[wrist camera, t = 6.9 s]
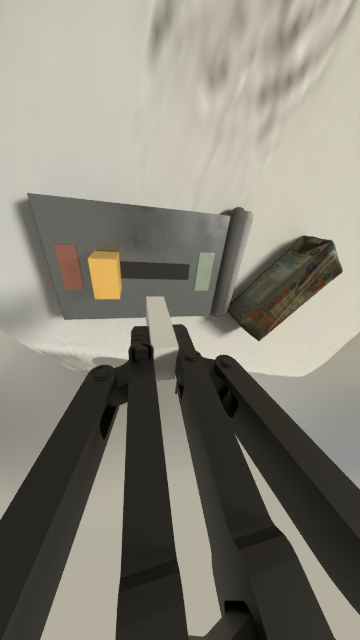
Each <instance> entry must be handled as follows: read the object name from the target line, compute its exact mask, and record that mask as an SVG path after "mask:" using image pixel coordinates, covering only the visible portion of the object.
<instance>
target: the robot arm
mask: <svg viewBox="0 0 360 640" xmlns="http://www.w3.org/2000/svg"><path fill="white" fill-rule="evenodd" d="M146 324H147V326H134V328H133V329H132V331H131V346H130V347H129V350H128V352H129V360H128V361H127V362H126V363H125V364H124V365H122V366H119V367H116V368H113V367H112V366H109V365H100V366H97V367H95V368H93V369H92V370H91V371H90V372H89V373H88V375H87V376H86V378H85V380H84V382H83V383H82V385H81V386H80V388H79V390H78V391H77V393H76V395H75V396H74V398H73V400H72V401H71V403H70V405H69V407H68V408H67V410H66V411H65V413H64V415H63V417H62V418H61V420H60V422H59V423H58V425H57V427H56V428H55V430H54V431H53V433H52V435H51V437H50V438H49V440H48V441H47V443H46V445H45V447H44V448H43V450H42V452H41V453H40V455H39V457H38V458H37V460H36V462H35V463H34V465H33V467H32V468H31V470H30V472H29V473H28V475H27V477H26V478H25V480H24V482H23V483H22V485H21V487H20V488H19V490H18V492H17V493H16V495H15V497H14V499H13V500H12V502H11V503H10V505H9V507H8V508H7V510H6V512H5V513H4V515H3V517H2V518H1V520H0V640H40V638H41V635H42V632H43V630H44V626H45V624H46V621H47V618H48V615H49V612H50V609H51V606H52V603H53V600H54V597H55V594H56V591H57V588H58V585H59V582H60V580H61V577H62V574H63V571H64V568H65V565H66V562H67V559H68V556H69V553H70V550H71V547H72V544H73V541H74V538H75V535H76V533H77V530H78V527H79V524H80V521H81V518H82V515H83V512H84V509H85V506H86V503H87V500H88V497H89V494H90V491H91V489H92V485H93V483H94V479H95V477H96V474H97V471H98V468H99V465H100V462H101V459H102V456H103V453H104V450H105V447H106V445H107V442H108V439H109V436H110V433H111V430H112V427H113V424H114V421H115V418H116V415H117V412H118V409H119V406H120V405H122V404H124V403H126V402H128V407H127V434H126V456H125V457H126V458H125V482H124V506H123V531H122V533H123V534H122V557H121V577H120V584H119V593H118V605H117V606H118V607H117V623H116V640H336V639H335V638H334V636H333V634H332V632H331V630H330V628H329V625H328V623H327V621H326V619H325V616H324V614H323V612H322V610H321V608H320V605H319V603H318V601H317V599H316V597H315V594H314V592H313V590H312V588H311V586H310V583H309V581H308V579H307V577H306V574H305V572H304V570H303V568H302V566H301V563H300V561H299V559H298V557H297V555H296V553H295V551H294V549H293V547H292V545H291V544H290V542H289V541H288V539H287V538H286V536H285V535H284V534H283V533H282V532H281V531H280V530H279V529H278V528H277V527H276V526H275V525H274V523H273V522H272V520H271V518H270V516H269V514H268V512H267V509H266V507H265V505H264V502H263V500H262V498H261V495H260V493H259V490H258V488H257V486H256V483H255V481H254V479H253V476H252V474H251V472H250V469H249V467H248V464H247V462H246V460H245V457H244V455H243V453H242V450H241V448H240V445H239V443H238V441H237V438H238V439H239V441H240V442H241V444H242V445H243V447H244V449H245V450H246V452H247V453H248V455H249V456H250V458H251V459H252V461H253V462H254V464H255V465H256V467H257V468H258V470H259V471H260V473H261V474H262V476H263V477H264V479H265V480H266V482H267V483H268V485H269V487H270V488H271V490H272V491H273V493H274V494H275V495H276V497H277V499H278V500H279V502H280V503H281V505H282V506H283V508H284V509H285V511H286V512H287V514H288V515H289V517H290V518H291V520H292V521H293V523H294V524H295V526H296V528H297V529H298V531H299V532H300V534H301V535H302V536H303V538H304V540H305V541H306V543H307V544H308V546H309V547H310V549H311V550H312V552H313V553H314V555H315V556H316V558H317V559H318V561H319V562H320V564H321V565H322V567H323V568H324V570H325V571H326V572H327V574H328V575H329V577H330V578H331V580H332V581H333V582H334V583H335V585H336V586H337V587H338V589H339V590H340V591H341V593H342V594H343V595H344V596H345V598H346V599H347V600H348V601H349V603H350V604H351V605H352V606H353V608H354V609H355V610H356V611H357V612H358V613H359V614H360V489H359V488H358V487H357V486H356V485H355V484H354V483H353V482H352V481H351V480H350V479H349V478H348V477H347V476H346V475H345V474H344V473H343V472H342V471H341V470H340V469H339V468H338V467H337V465H336V464H334V462H333V461H332V460H331V459H330V458H329V457H328V456H327V455H326V454H325V453H324V452H323V451H322V450H321V449H320V448H319V447H318V446H317V445H316V444H315V443H314V442H313V440H312V439H311V438H310V437H309V436H308V435H307V434H306V433H305V432H304V431H303V430H302V429H301V428H300V427H299V426H298V425H297V424H296V423H295V422H294V421H293V420H292V419H291V417H290V416H289V415H288V414H287V413H286V412H285V411H284V410H283V409H282V408H281V407H280V406H279V405H278V404H277V403H276V402H275V401H274V400H273V399H272V398H271V397H270V396H269V395H268V394H267V392H266V391H265V390H264V389H263V388H262V387H261V386H260V385H259V384H258V383H257V382H256V381H255V380H254V379H253V378H252V377H251V376H250V375H249V374H248V373H247V372H246V371H245V369H244V368H243V367H242V366H241V365H240V364H239V363H238V362H237V361H236V360H235V359H234V358H232V357H230V356H228V355H219V356H217V358H216V359H215V360H213V359H207V358H204V357H202V356H201V354H200V353H199V352H197V351H195V348H194V346H193V343H192V341H191V338H190V336H189V334H188V331H187V328H186V327H185V326H184V325H182V324H177V325H172V323H171V319H170V316H169V312H168V309H167V306H166V302H165V299H164V297H146ZM175 374H176V379H177V382H176V390H175V394H177V392H178V396H179V401H180V406H181V411H182V415H183V420H184V425H185V429H186V434H187V439H188V443H189V448H190V453H191V457H192V462H193V467H194V471H195V476H196V480H197V485H198V490H199V495H200V499H201V504H202V509H203V513H204V518H205V523H206V527H207V532H208V537H209V541H210V546H211V553H212V567H213V575H214V581H215V586H216V591H217V596H218V601H219V606H220V611H221V615H222V618H221V619H220V620H219V621H218V622H217V623H216V625H215V626H214V627H213V628H212V629H211V630H210V631H209V633H208V634H207V635H205V636H203V637H199V636H190V635H189V636H188V631H187V623H186V615H185V607H184V599H183V591H182V584H181V578H180V572H179V567H178V562H177V557H176V550H175V543H174V534H173V525H172V516H171V508H170V499H169V490H168V481H167V473H166V464H165V455H164V447H163V438H162V429H161V421H160V411H159V403H158V396H157V395H158V394H157V386H156V381H160V380H170V379H175ZM234 433H235V434H234ZM235 435H236V436H237V438H236V436H235Z"/></svg>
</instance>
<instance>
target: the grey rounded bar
mask: <svg viewBox="0 0 360 640" xmlns="http://www.w3.org/2000/svg"><path fill="white" fill-rule="evenodd" d="M229 216H230V221H229V226H228V230H227V235H226V240H225V244H224V249H223V254H222V259H221V263H220V268H219V273H218V277H217V282H216V287H215V292H214V296H213V301H212V306H211V310H210V314H211V315H212V316H214V317H217V316H219V315H221V314H226V313H227V312H228V309H229V305H230V302H231V298H232V294H233V291H234V287H235V283H236V280H237V276H238V272H239V269H240V265H241V261H242V257H243V254H244V250H245V246H246V243H247V239H248V235H249V232H250V228H251V224H252V221H253V213H252V212H251V211H246V212H245V210H244V209H243V208H241V207H237V208H234V209H233V210H232V211H231V212H230V215H229Z"/></svg>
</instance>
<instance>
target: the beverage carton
mask: <svg viewBox="0 0 360 640" xmlns="http://www.w3.org/2000/svg"><path fill="white" fill-rule="evenodd" d="M342 272H343V270H342V266H341V264H340V261H339V258H338V254H337V252H336V247H335V244H334V242H333V241H332V240H326V239H320V238H317V237H312V236H311V237H310V236H303V237H302V238H301V239H300V240H299V241H298V242H296V243H295V244H294V245H293V246H292V247H291V248H290V249H289V250H288V251H287V252H286V253H285V254H283V255H282V256H281V257H280V258H279V259H278V260H277V261H276V262H275V263H274V264H273V265H272V266H271V267H270V268H269V269H268V270H267V271H266V272H264V273H263V274H262V275H261V276H260V277H259V278H258V279H257V280H256V281H255V282H254V283H253V284H252V285H251V286H250V287H249V288H247V289H246V290H245V291H244V292H243V293H242V294H241V295H240V296H239V297H238V298H237V299H236V300H235V301H234V302H233V303H232V304H230V305H229V309H228V311H229V313H230V314H231V315H232V317H233V318H234V319H235V320H236V322H237V323H238V324H239V325H240V326H241V327H242V328H243V329H244V330H245V331H247V332H248V333H249V334H250V335H251V336H253V337H254V338H255V339H257V340H258V341H260V340H261V339H262V338H263V337H265V336H266V335H267V334H268V333H270V332H271V331H272V330H273V329H274V328H275V327H277V326H278V325H279V324H280V323H281V322H283V321H284V320H285V319H286V318H287V317H288V316H290V315H291V314H292V313H293V312H294V311H296V310H297V309H298V308H299V307H300V306H301V305H303V304H304V303H305V302H306V301H308V300H309V299H310V298H311V297H312V296H314V295H315V294H316V293H317V292H318V291H320V290H321V289H322V288H323V287H324V286H326V285H327V284H328V283H329V282H330V281H332V280H333V279H335V278H336V277H337V276H338V275H339V274H341V273H342Z"/></svg>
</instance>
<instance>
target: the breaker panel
mask: <svg viewBox="0 0 360 640" xmlns="http://www.w3.org/2000/svg"><path fill="white" fill-rule="evenodd" d="M27 195H28V198H29V202H30V205H31V208H32V212H33V215H34V219H35V222H36V225H37V229H38V232H39V236H40V239H41V242H42V246H43V249H44V252H45V256H46V259H47V263H48V266H49V269H50V273H51V276H52V280H53V283H54V286H55V290H56V293H57V297H58V300H59V303H60V307H61V310H62V314H63V317H64V320H70V319H105V318H140V317H146V297H164V299H165V302H166V306H167V309H168V312H169V316H170V317H176V316H209V315H210V310H211V306H212V301H213V296H214V292H215V287H216V282H217V277H218V273H219V268H220V263H221V259H222V254H223V249H224V244H225V240H226V235H227V230H228V226H229V221H230V216H227V215H218V214H209V213H200V212H191V211H182V210H173V209H165V208H156V207H147V206H138V205H129V204H120V203H111V202H102V201H94V200H85V199H76V198H67V197H58V196H49V195H40V194H31V193H27ZM94 251H108V252H119V260H120V272H121V284H122V289H121V296H120V299H95V297H94V291H93V286H92V280H91V274H90V268H89V263H88V258H89V256H90V255H91V254H92V253H93V252H94Z"/></svg>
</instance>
